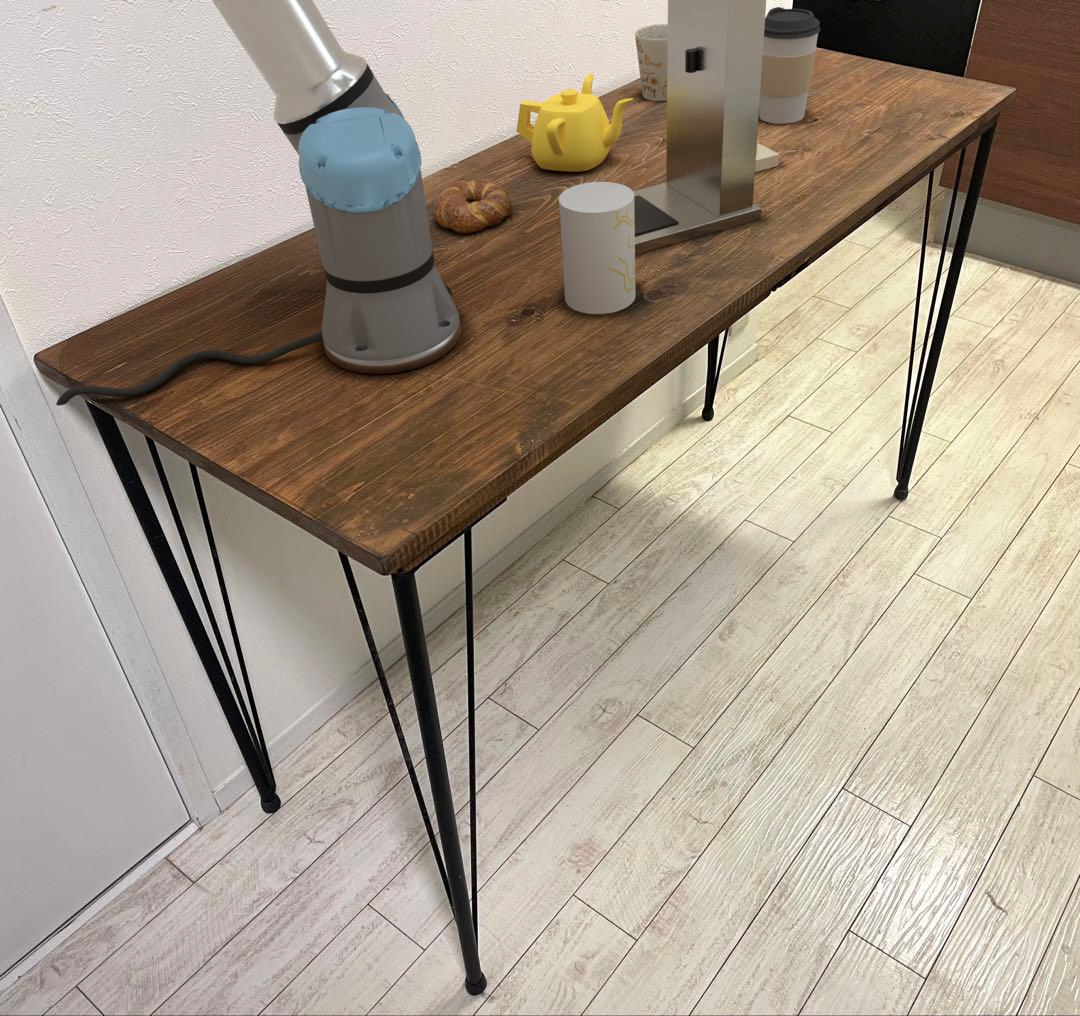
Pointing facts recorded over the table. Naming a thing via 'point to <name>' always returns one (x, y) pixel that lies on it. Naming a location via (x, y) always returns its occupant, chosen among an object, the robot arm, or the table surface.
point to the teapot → (570, 129)
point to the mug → (653, 60)
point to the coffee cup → (787, 64)
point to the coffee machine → (707, 123)
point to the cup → (598, 246)
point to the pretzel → (471, 205)
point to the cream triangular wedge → (765, 158)
